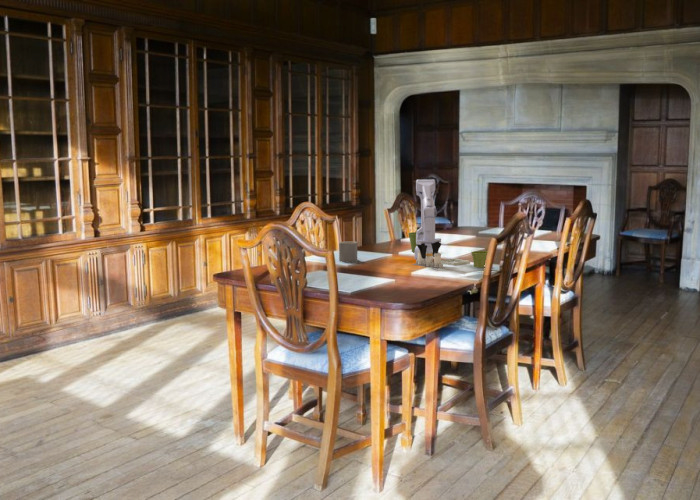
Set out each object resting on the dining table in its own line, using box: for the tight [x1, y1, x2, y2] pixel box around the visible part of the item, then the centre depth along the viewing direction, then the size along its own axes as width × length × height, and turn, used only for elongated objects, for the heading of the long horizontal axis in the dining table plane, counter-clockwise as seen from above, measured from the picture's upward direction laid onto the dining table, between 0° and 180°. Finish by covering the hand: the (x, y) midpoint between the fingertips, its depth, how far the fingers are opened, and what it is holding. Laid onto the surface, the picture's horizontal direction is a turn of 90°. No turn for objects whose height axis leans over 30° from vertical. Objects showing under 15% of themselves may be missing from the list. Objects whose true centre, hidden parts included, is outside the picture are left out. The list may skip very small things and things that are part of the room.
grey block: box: [338, 240, 358, 263], centre depth 395 cm, size 13×10×10 cm
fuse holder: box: [411, 259, 448, 270], centre depth 363 cm, size 19×7×4 cm, turn 36°
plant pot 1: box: [407, 231, 424, 253], centre depth 424 cm, size 12×12×11 cm
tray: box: [441, 257, 471, 266], centre depth 372 cm, size 12×12×3 cm
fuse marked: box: [426, 251, 434, 266], centre depth 362 cm, size 4×4×7 cm
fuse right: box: [433, 252, 442, 269], centre depth 358 cm, size 3×3×7 cm
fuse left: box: [417, 250, 425, 266], centre depth 367 cm, size 3×3×7 cm
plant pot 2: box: [470, 250, 488, 268], centre depth 359 cm, size 9×9×9 cm
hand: (429, 257), depth 362 cm, fingers open, 7 cm apart
